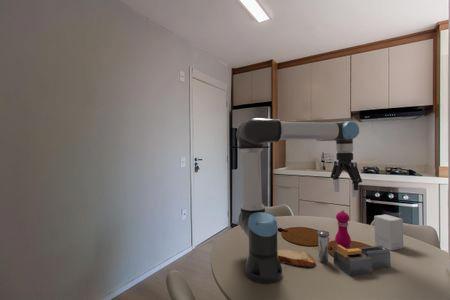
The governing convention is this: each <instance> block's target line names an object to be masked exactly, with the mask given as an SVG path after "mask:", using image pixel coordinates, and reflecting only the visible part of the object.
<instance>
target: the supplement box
mask: <svg viewBox="0 0 450 300" xmlns="http://www.w3.org/2000/svg"><path fill="white" fill-rule="evenodd" d="M373 219H374V223H373V224H374V244H375V245H376V246H382V247H383V248H384V249H388V250H390V251H395V250H401V249H404V219H403V218H401V217H397V216H393V215H391V214H390V215H389V214H381V215H380V214H378V215H374V217H373Z"/></svg>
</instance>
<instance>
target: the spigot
mask: <svg viewBox="0 0 450 300" xmlns="http://www.w3.org/2000/svg"><path fill="white" fill-rule="evenodd" d="M316 235H318V236H317V237H318V243H317V244H318V262H319V263H323V264H328V263H329V236H330V232H329V231H327V230H321V229H319V230H317V231H316Z"/></svg>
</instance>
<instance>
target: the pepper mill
mask: <svg viewBox="0 0 450 300" xmlns="http://www.w3.org/2000/svg"><path fill="white" fill-rule="evenodd" d="M335 219H336V220H337V221H336V222H337V224H336V225H337V226H338V230H337V232H336V234H335V237H334V241H335V243H336V244H335V246H336V247H335V248H336V249H337V245H341V246H342V247H344V248H346V249H348V248H351V244H352V238H351V236H350V234H349V232H348V227H349V221H350V216H349V214H348V213H347V212H345V209H343V208H342V209H340V212H338V213H336V215H335Z"/></svg>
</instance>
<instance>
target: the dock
mask: <svg viewBox="0 0 450 300" xmlns="http://www.w3.org/2000/svg"><path fill="white" fill-rule="evenodd" d="M383 248H384V247H382V246H379V245H375V246H365V247H359V249H361V250H362V254H353V255H348V257H344V256H342V255H341V254H339V253H338V252H337V249H333V264H334V265H335V266H336V267H338V268H339V269H340V270H341V271H343V272H345V274H347V275H348V276H349V277H352V276H362V275H368V274H369V275H370V274H372V273H373V270H377V269H386V268H391V250H388V249H386V248H384V249H383ZM348 249H355V248H354V247H350V248H348Z"/></svg>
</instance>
